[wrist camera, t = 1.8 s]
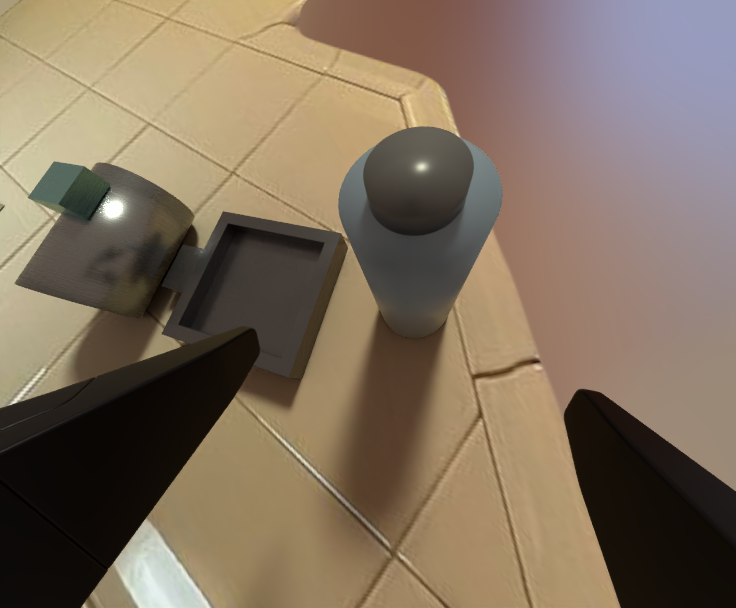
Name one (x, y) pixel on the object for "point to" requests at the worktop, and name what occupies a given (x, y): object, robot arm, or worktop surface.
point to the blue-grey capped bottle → (419, 222)
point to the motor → (183, 263)
